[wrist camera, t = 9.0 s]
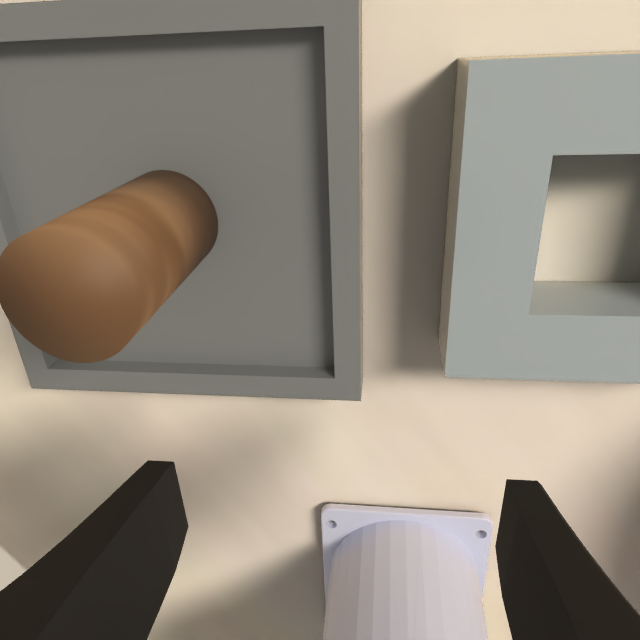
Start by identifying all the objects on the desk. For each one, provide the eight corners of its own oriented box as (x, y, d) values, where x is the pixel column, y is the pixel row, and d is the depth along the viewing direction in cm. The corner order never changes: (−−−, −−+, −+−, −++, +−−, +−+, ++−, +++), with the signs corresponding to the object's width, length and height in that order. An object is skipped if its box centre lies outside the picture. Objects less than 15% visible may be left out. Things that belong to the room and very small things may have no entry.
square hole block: (711, 345, 20) (756, 387, 18) (438, 338, 21) (444, 377, 19) (812, 44, 15) (892, 43, 13) (458, 58, 17) (469, 60, 14)
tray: (362, 378, 22) (360, 400, 21) (52, 368, 24) (31, 388, 23) (361, -12, 16) (358, -17, 15) (-58, 12, 18) (-97, 9, 16)
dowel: (224, 266, 20) (148, 364, 14) (132, 266, 20) (20, 361, 14) (210, 168, 18) (118, 229, 12) (112, 170, 19) (-25, 230, 13)
